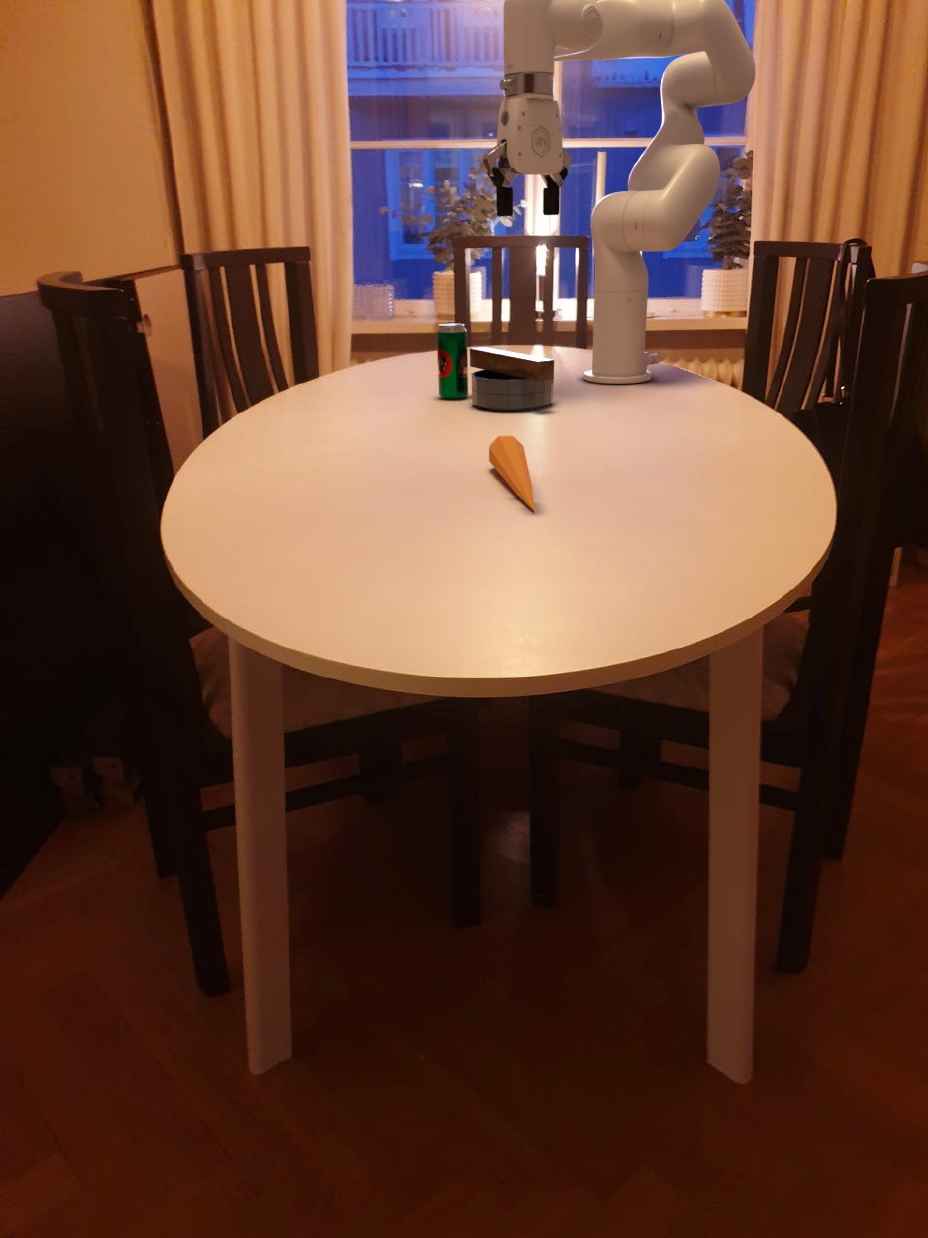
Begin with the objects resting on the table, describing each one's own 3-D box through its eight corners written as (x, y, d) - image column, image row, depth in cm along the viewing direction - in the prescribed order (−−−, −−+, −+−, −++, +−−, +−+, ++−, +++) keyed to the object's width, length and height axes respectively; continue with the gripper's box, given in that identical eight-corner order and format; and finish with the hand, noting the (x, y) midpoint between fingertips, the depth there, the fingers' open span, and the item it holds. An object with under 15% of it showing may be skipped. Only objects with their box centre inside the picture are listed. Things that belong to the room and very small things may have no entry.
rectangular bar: (484, 364, 155) (484, 346, 154) (554, 379, 139) (554, 359, 138) (469, 366, 154) (469, 348, 152) (538, 381, 138) (538, 361, 137)
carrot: (493, 471, 112) (479, 439, 110) (526, 456, 111) (513, 423, 109) (522, 537, 95) (506, 501, 92) (561, 520, 94) (546, 483, 92)
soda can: (465, 400, 152) (463, 326, 147) (436, 400, 153) (433, 326, 148) (470, 395, 157) (469, 322, 152) (442, 394, 158) (439, 322, 153)
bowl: (516, 394, 156) (516, 364, 154) (569, 404, 147) (570, 373, 144) (456, 404, 149) (455, 373, 147) (507, 416, 139) (507, 383, 137)
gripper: (500, 83, 127) (501, 216, 134) (588, 90, 137) (584, 213, 144) (467, 89, 133) (470, 217, 140) (554, 96, 142) (552, 214, 149)
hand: (528, 215), depth 142 cm, fingers open, 9 cm apart
